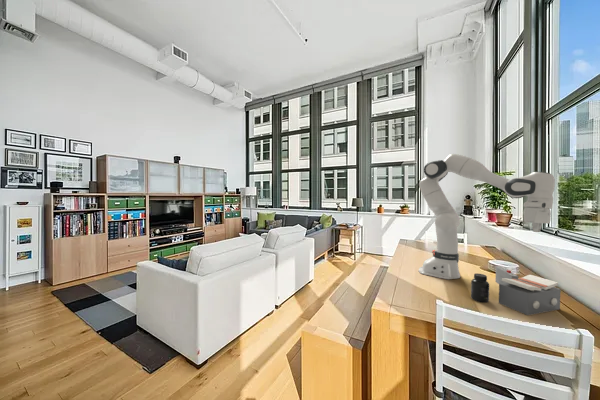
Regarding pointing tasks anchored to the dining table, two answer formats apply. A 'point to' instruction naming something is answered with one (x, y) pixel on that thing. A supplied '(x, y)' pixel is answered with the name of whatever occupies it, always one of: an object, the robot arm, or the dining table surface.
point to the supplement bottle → (480, 288)
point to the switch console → (529, 299)
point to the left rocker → (522, 284)
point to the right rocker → (539, 281)
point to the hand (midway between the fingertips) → (536, 232)
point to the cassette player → (504, 274)
